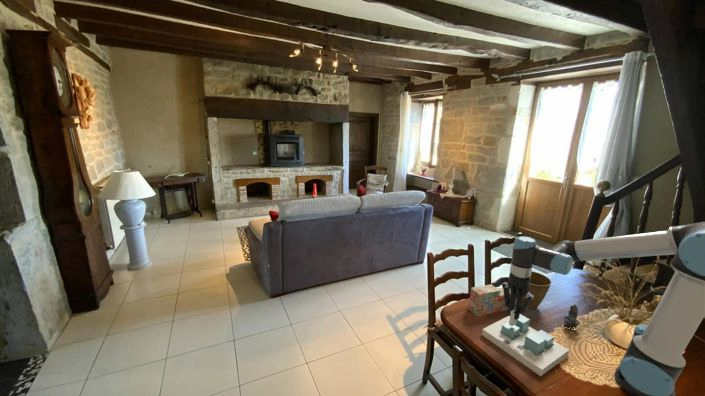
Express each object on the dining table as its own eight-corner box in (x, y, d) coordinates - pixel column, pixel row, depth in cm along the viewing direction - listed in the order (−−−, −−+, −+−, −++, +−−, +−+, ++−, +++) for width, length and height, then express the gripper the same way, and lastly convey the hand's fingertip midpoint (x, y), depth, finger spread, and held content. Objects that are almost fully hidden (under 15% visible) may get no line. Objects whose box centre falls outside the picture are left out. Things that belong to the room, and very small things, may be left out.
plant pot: (506, 298, 156) (510, 271, 152) (529, 295, 158) (534, 269, 155) (527, 315, 141) (532, 286, 138) (553, 312, 144) (559, 283, 140)
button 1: (518, 338, 124) (520, 328, 123) (511, 342, 122) (513, 332, 121) (507, 331, 128) (508, 321, 127) (500, 334, 126) (502, 324, 125)
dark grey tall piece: (580, 332, 131) (586, 308, 128) (566, 330, 132) (571, 307, 129) (573, 323, 136) (579, 301, 133) (559, 321, 137) (564, 299, 134)
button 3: (543, 350, 115) (545, 339, 114) (536, 354, 113) (538, 343, 112) (530, 342, 120) (532, 331, 118) (523, 346, 117) (525, 335, 116)
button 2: (528, 329, 127) (530, 319, 126) (521, 333, 125) (523, 323, 124) (517, 322, 131) (518, 313, 130) (510, 326, 129) (512, 316, 128)
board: (567, 356, 117) (569, 349, 116) (540, 376, 107) (542, 368, 106) (509, 320, 138) (510, 314, 137) (481, 334, 128) (482, 328, 127)
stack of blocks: (502, 302, 152) (506, 281, 149) (512, 309, 146) (515, 288, 143) (468, 308, 146) (470, 287, 143) (476, 316, 140) (479, 294, 138)
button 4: (551, 347, 119) (554, 337, 118) (545, 351, 117) (547, 341, 116) (539, 339, 123) (541, 329, 122) (532, 343, 121) (534, 333, 120)
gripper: (541, 278, 114) (532, 330, 120) (510, 265, 125) (503, 313, 131) (531, 283, 110) (522, 336, 116) (499, 269, 121) (493, 318, 127)
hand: (512, 324), depth 123 cm, fingers closed
